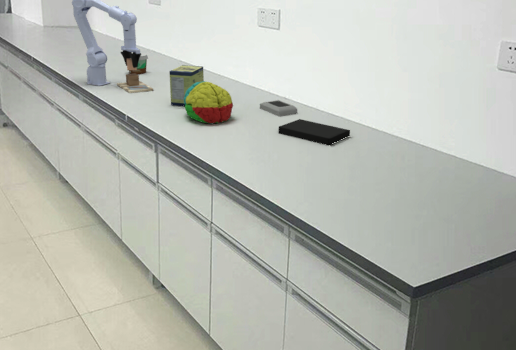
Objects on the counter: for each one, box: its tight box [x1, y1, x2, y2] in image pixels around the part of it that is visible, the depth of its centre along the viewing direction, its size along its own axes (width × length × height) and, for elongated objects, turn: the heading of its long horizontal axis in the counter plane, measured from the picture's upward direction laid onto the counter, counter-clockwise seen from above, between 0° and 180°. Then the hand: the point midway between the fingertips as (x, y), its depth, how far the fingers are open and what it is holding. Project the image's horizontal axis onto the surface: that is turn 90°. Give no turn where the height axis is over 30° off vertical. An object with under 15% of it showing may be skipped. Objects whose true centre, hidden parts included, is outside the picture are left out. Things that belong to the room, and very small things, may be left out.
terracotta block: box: [126, 59, 137, 71], centre depth 299 cm, size 4×4×5 cm
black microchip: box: [277, 118, 351, 146], centre depth 229 cm, size 14×23×3 cm, turn 51°
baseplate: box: [116, 73, 154, 94], centre depth 299 cm, size 20×12×6 cm, turn 30°
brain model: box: [184, 80, 234, 124], centre depth 248 cm, size 24×19×15 cm
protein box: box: [169, 64, 205, 107], centre depth 271 cm, size 10×16×16 cm
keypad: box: [259, 99, 298, 117], centre depth 261 cm, size 10×4×15 cm
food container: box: [128, 54, 149, 76], centre depth 330 cm, size 12×6×10 cm, turn 105°
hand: (131, 66), depth 299 cm, fingers closed on terracotta block, 6 cm apart
